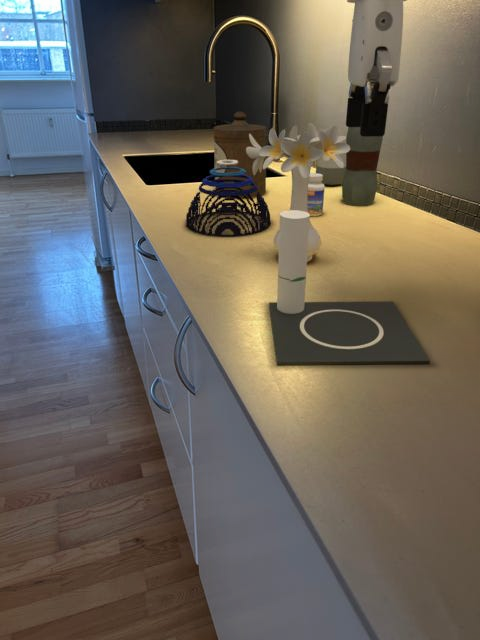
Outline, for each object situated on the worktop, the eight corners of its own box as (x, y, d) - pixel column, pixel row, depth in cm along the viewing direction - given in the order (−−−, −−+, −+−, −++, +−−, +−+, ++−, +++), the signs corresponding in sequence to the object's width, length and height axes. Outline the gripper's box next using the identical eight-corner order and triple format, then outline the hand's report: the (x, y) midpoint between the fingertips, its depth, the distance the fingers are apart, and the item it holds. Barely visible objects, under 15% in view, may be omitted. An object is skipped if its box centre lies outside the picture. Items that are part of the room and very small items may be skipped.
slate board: (392, 304, 83) (392, 300, 82) (429, 363, 67) (430, 359, 66) (268, 305, 83) (269, 301, 82) (276, 365, 67) (277, 360, 66)
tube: (274, 311, 79) (276, 217, 72) (280, 300, 83) (283, 209, 76) (301, 315, 78) (306, 219, 71) (306, 303, 82) (312, 211, 75)
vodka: (356, 196, 145) (368, 79, 131) (382, 202, 139) (397, 81, 125) (333, 201, 140) (343, 81, 126) (359, 208, 134) (372, 82, 120)
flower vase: (250, 246, 108) (250, 120, 97) (338, 249, 106) (350, 120, 94) (242, 268, 97) (242, 129, 85) (341, 273, 94) (354, 130, 83)
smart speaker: (311, 181, 162) (313, 135, 156) (338, 180, 164) (342, 134, 157) (320, 188, 154) (324, 139, 148) (349, 186, 156) (354, 138, 149)
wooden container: (217, 186, 157) (215, 109, 147) (265, 186, 156) (266, 109, 146) (213, 198, 144) (210, 114, 134) (265, 198, 143) (267, 114, 133)
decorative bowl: (273, 236, 114) (275, 170, 107) (183, 237, 114) (179, 170, 107) (268, 211, 131) (269, 153, 125) (190, 212, 131) (187, 154, 125)
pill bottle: (302, 216, 127) (304, 177, 123) (299, 210, 132) (301, 172, 128) (324, 216, 127) (327, 176, 123) (320, 210, 132) (323, 172, 128)
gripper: (431, -22, 57) (408, 140, 65) (389, -6, 72) (375, 123, 80) (363, -21, 57) (349, 140, 65) (336, -5, 72) (327, 124, 80)
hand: (363, 131), depth 72 cm, fingers open, 9 cm apart
